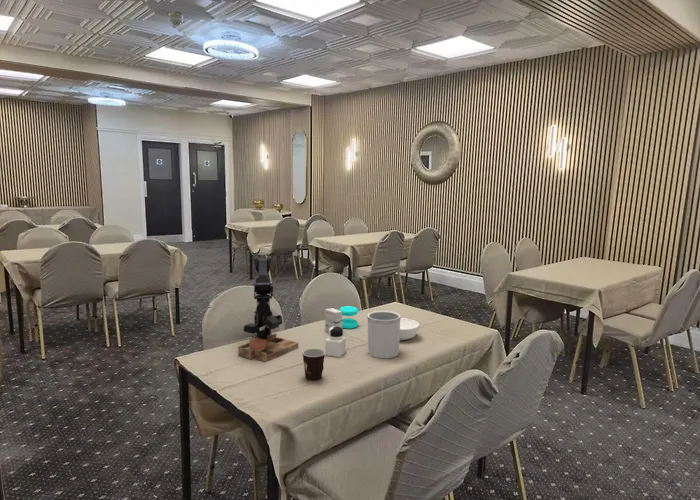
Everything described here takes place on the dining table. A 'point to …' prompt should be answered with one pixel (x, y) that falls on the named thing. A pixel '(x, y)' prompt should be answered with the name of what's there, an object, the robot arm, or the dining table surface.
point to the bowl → (408, 328)
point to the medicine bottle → (335, 342)
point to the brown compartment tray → (268, 349)
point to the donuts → (349, 322)
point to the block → (257, 344)
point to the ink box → (332, 318)
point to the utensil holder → (383, 334)
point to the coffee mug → (313, 363)
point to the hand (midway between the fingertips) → (263, 342)
